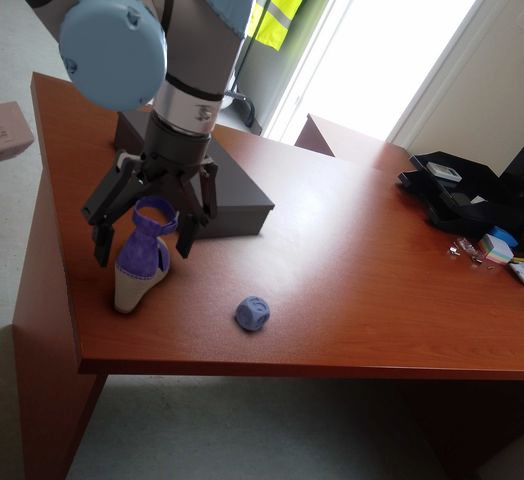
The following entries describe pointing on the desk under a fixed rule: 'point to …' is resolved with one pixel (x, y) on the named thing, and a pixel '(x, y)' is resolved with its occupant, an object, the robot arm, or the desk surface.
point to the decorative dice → (252, 313)
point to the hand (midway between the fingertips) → (143, 257)
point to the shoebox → (227, 186)
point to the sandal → (143, 255)
